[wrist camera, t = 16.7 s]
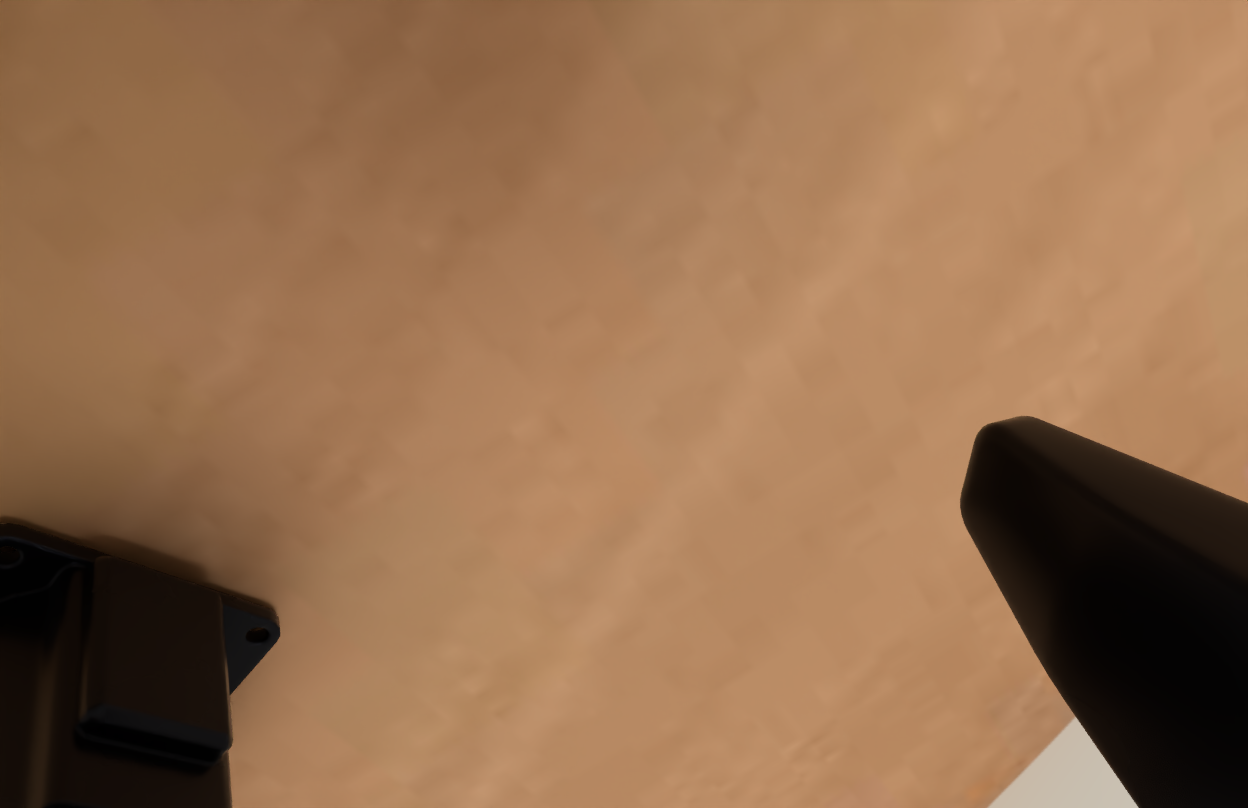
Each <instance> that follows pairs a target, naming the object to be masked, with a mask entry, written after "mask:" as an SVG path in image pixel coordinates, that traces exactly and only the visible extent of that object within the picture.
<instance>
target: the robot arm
mask: <svg viewBox="0 0 1248 808" xmlns="http://www.w3.org/2000/svg"><path fill="white" fill-rule="evenodd" d="M960 508H961V514H962V518H963V521H964V524H965V526H966V528H967V530H968V532H969V534H970V536H971V537H972V539H973V541H974V543H975V545H976V547H977V548H978V550H979V552H980V554H981V556H982V557H983V559H984V561H985V563H986V565H987V567H988V568H989V570H990V572H991V574H992V576H993V577H994V579H995V581H996V583H997V585H998V587H999V588H1000V590H1001V592H1002V594H1003V596H1004V597H1005V599H1006V601H1007V603H1008V605H1009V607H1010V608H1011V610H1012V612H1013V614H1014V616H1015V618H1016V619H1017V621H1018V623H1019V625H1020V627H1021V628H1022V630H1023V632H1024V634H1025V636H1026V638H1027V639H1028V641H1029V643H1030V645H1031V647H1032V648H1033V650H1034V652H1035V654H1036V655H1037V657H1038V659H1039V660H1040V662H1041V664H1042V666H1043V667H1044V669H1045V671H1046V672H1047V674H1048V676H1049V677H1050V679H1051V680H1052V682H1053V683H1054V685H1055V686H1056V688H1057V689H1058V691H1059V693H1060V694H1061V696H1062V697H1063V699H1064V700H1065V702H1066V703H1067V705H1068V706H1069V707H1070V709H1071V710H1072V712H1073V713H1074V715H1075V716H1076V718H1077V719H1078V720H1079V722H1080V723H1081V725H1082V726H1083V728H1084V729H1085V731H1086V732H1087V734H1088V735H1089V736H1090V738H1091V739H1092V741H1093V742H1094V743H1095V745H1096V746H1097V748H1098V749H1099V751H1100V752H1101V754H1102V755H1103V757H1104V758H1105V760H1106V761H1107V762H1108V764H1109V765H1110V767H1111V768H1112V770H1113V771H1114V773H1115V774H1116V775H1117V777H1118V778H1119V780H1120V781H1121V783H1122V784H1123V785H1124V787H1125V789H1126V790H1127V791H1128V793H1129V794H1130V796H1131V797H1132V799H1133V800H1134V802H1135V803H1136V804H1137V806H1138V807H1139V808H1248V503H1246V502H1244V501H1241V500H1239V499H1236V498H1234V497H1231V496H1229V495H1226V494H1224V493H1221V492H1219V491H1216V490H1214V489H1211V488H1209V487H1206V486H1204V485H1201V484H1199V483H1196V482H1194V481H1191V480H1189V479H1186V478H1184V477H1181V476H1179V475H1176V474H1174V473H1171V472H1169V471H1167V470H1164V469H1162V468H1159V467H1157V466H1154V465H1152V464H1149V463H1147V462H1144V461H1142V460H1139V459H1137V458H1134V457H1132V456H1129V455H1127V454H1124V453H1122V452H1119V451H1117V450H1114V449H1112V448H1109V447H1107V446H1104V445H1102V444H1099V443H1097V442H1094V441H1092V440H1090V439H1087V438H1085V437H1082V436H1080V435H1077V434H1075V433H1072V432H1070V431H1067V430H1065V429H1062V428H1060V427H1057V426H1055V425H1052V424H1050V423H1047V422H1045V421H1042V420H1040V419H1037V418H1034V417H1030V416H1019V417H1015V418H1011V419H1007V420H1002V421H998V422H994V423H990V424H987V425H986V426H984V427H983V428H982V429H981V430H980V431H979V432H978V434H977V436H976V438H975V441H974V445H973V449H972V453H971V457H970V461H969V465H968V469H967V473H966V477H965V481H964V484H963V488H962V492H961V498H960ZM4 546H6V547H13V548H14V549H16V551H14V552H9V553H7V552H0V808H232V796H231V782H230V768H229V753H228V750H229V749H230V747H231V746H232V743H233V732H232V719H231V706H230V695H231V694H232V693H233V691H234V690H235V689H236V688H237V687H238V686H239V684H240V683H241V682H242V681H243V680H244V679H245V678H246V676H247V675H248V674H249V673H250V672H251V671H252V670H253V668H254V667H255V666H256V665H257V664H258V663H259V662H260V660H261V659H262V658H263V657H264V656H265V655H266V653H267V652H268V651H269V650H270V649H271V648H272V647H273V645H274V644H275V643H276V642H277V640H278V639H279V637H280V625H279V618H278V616H277V614H276V613H275V611H273V610H271V609H269V608H267V607H264V606H261V605H258V604H255V603H252V602H249V601H246V600H243V599H240V598H237V597H234V596H231V595H228V594H225V593H222V592H219V591H216V590H213V589H210V588H207V587H204V586H201V585H198V584H195V583H192V582H189V581H186V580H183V579H180V578H177V577H174V576H171V575H168V574H165V573H162V572H159V571H156V570H153V569H150V568H147V567H144V566H141V565H138V564H135V563H132V562H129V561H126V560H123V559H120V558H117V557H114V556H111V555H108V554H105V553H102V552H99V551H96V550H93V549H90V548H87V547H84V546H81V545H78V544H75V543H72V542H69V541H66V540H63V539H60V538H57V537H54V536H51V535H48V534H45V533H42V532H39V531H36V530H33V529H30V528H27V527H24V526H21V525H16V524H11V523H6V524H0V547H4ZM257 627H260V628H263V629H261V630H257V631H251V629H253V628H257Z"/></svg>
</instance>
